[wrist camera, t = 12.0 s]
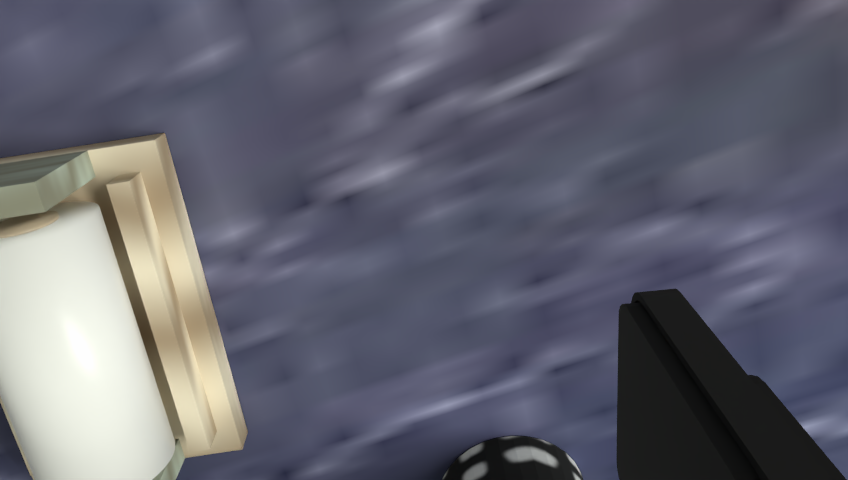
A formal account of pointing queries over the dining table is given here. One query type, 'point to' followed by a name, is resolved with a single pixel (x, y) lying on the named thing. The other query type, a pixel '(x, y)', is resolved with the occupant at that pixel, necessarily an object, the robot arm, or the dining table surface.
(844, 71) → the dining table surface
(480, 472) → the spotted tube
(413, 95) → the dining table surface
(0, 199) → the holder
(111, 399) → the roll
